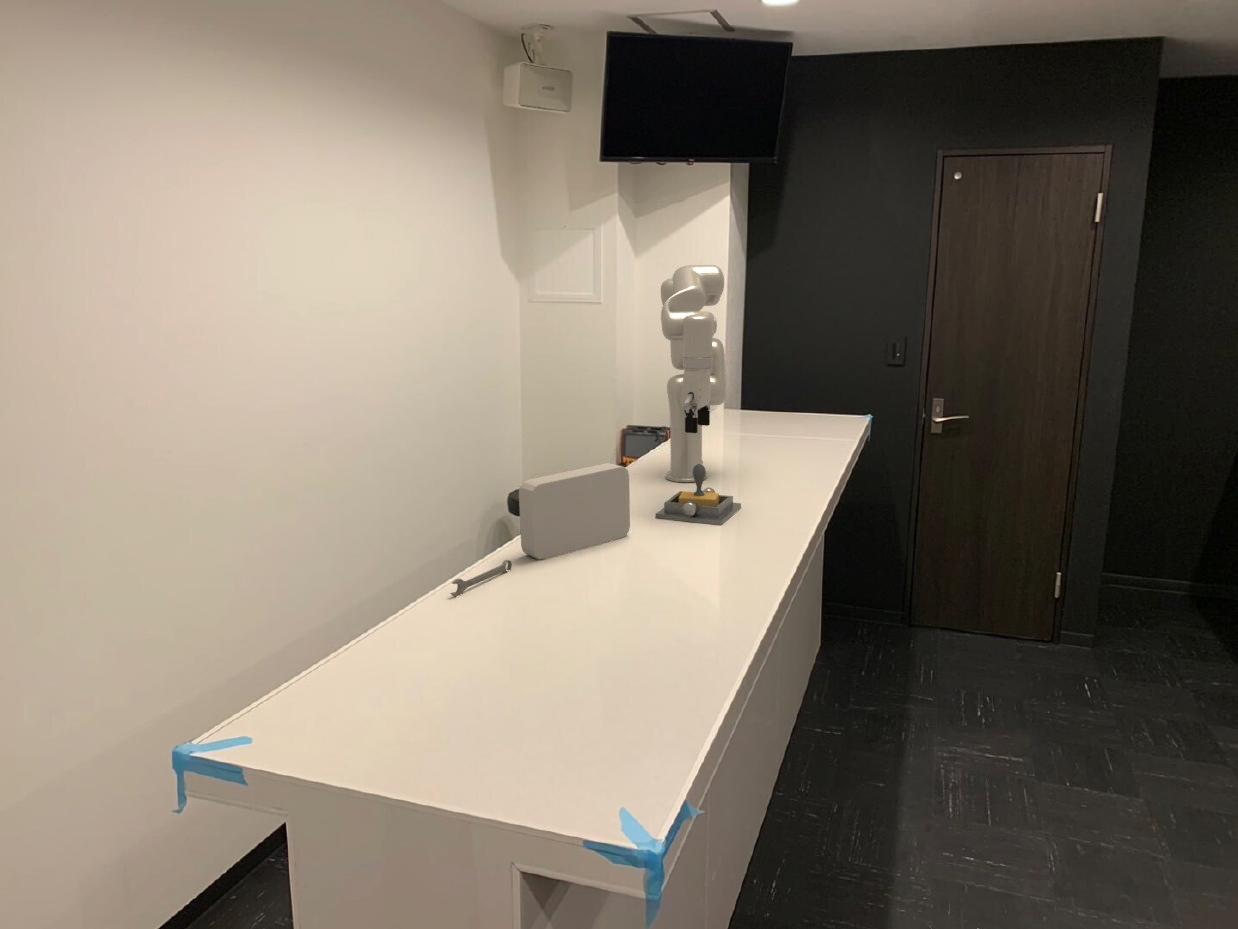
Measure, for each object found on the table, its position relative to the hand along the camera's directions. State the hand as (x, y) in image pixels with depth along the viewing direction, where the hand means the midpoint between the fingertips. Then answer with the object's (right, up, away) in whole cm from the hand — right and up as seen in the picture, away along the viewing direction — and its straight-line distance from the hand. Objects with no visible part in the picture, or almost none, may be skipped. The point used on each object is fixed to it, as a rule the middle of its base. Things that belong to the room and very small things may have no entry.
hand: (697, 428), depth 244 cm
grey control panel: (-30, -29, -20) cm, 47 cm away
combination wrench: (-50, -35, -43) cm, 75 cm away
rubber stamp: (+1, -21, +4) cm, 22 cm away
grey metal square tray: (+1, -22, +4) cm, 23 cm away
